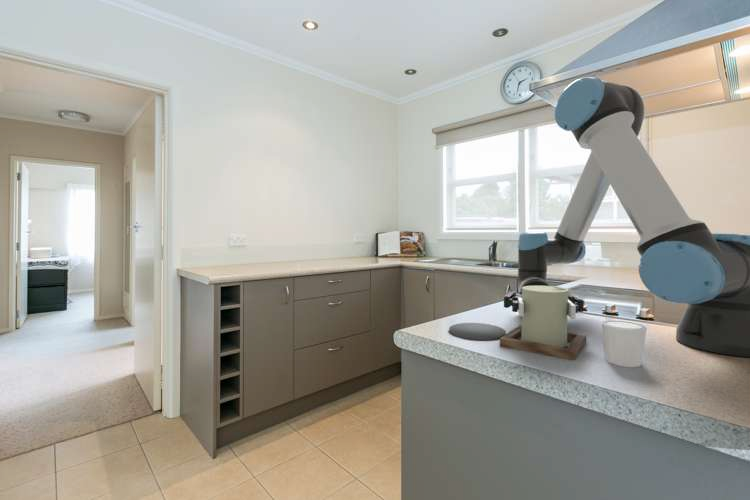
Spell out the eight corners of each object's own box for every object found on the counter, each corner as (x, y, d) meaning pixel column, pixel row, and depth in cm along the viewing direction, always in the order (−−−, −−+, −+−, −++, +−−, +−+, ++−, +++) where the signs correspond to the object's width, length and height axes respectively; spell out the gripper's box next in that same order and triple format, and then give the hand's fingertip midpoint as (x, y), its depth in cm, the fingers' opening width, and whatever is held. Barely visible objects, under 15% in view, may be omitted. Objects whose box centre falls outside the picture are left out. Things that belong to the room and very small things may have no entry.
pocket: (586, 341, 80) (586, 334, 80) (573, 360, 69) (574, 351, 69) (520, 331, 89) (520, 324, 89) (499, 345, 78) (499, 338, 78)
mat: (513, 330, 89) (513, 328, 89) (493, 343, 79) (493, 341, 79) (463, 322, 97) (463, 320, 97) (439, 333, 87) (439, 331, 87)
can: (574, 349, 74) (575, 290, 73) (525, 347, 75) (526, 289, 75) (560, 336, 83) (561, 283, 82) (517, 334, 84) (517, 282, 84)
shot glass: (653, 369, 64) (655, 330, 64) (611, 367, 66) (612, 328, 65) (632, 356, 71) (634, 320, 71) (594, 354, 72) (595, 319, 72)
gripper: (581, 309, 92) (607, 333, 71) (491, 304, 99) (490, 325, 78) (582, 279, 92) (608, 295, 71) (492, 277, 99) (491, 290, 77)
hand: (547, 311), depth 74 cm, fingers closed on can, 9 cm apart
